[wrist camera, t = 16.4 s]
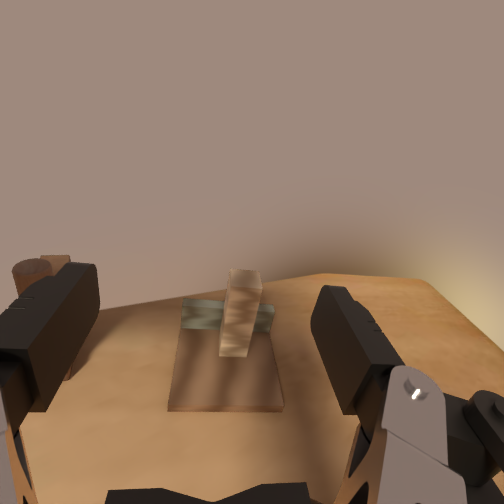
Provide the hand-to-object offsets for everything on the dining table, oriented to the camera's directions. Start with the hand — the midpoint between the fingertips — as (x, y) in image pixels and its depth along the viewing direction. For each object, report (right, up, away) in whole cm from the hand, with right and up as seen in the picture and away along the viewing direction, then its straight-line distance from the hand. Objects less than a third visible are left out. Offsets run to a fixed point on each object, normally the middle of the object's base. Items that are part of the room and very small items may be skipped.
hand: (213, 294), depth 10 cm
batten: (-2, -14, +38) cm, 40 cm away
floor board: (-3, -17, +36) cm, 40 cm away
